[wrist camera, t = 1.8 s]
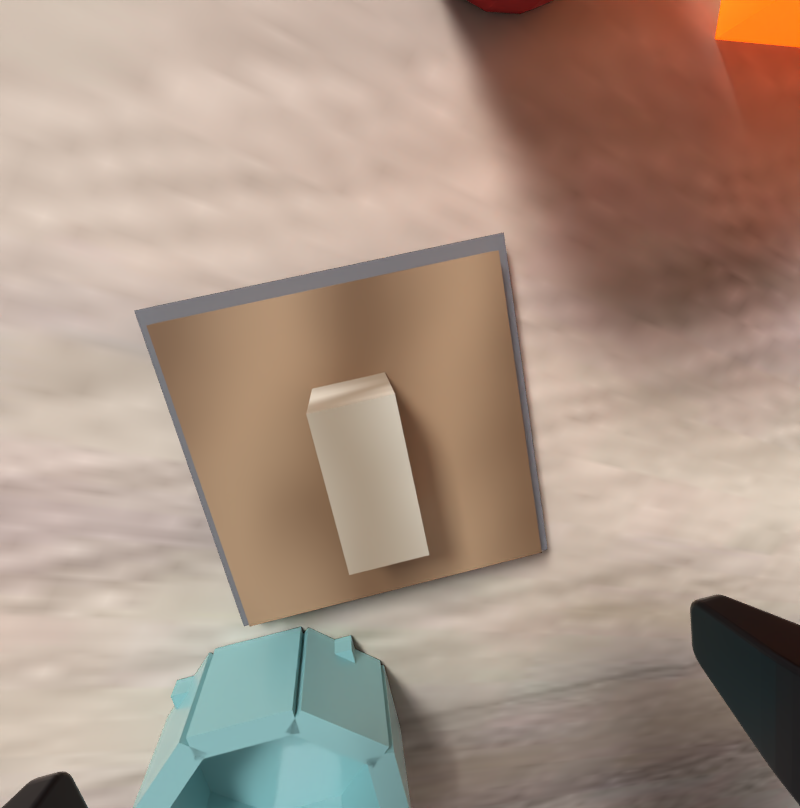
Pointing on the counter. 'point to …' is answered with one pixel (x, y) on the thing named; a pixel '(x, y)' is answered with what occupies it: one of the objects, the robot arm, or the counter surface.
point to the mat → (324, 280)
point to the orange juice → (760, 22)
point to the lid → (356, 434)
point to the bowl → (281, 730)
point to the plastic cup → (508, 5)
